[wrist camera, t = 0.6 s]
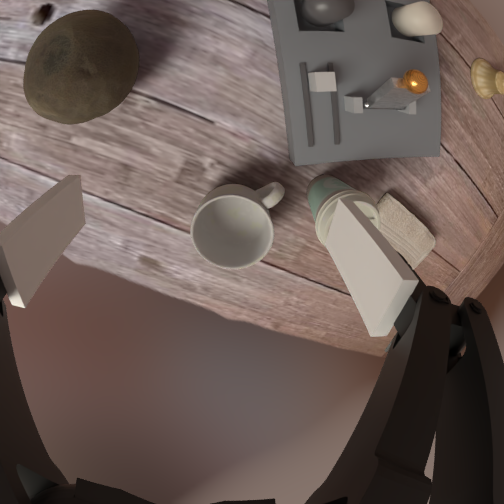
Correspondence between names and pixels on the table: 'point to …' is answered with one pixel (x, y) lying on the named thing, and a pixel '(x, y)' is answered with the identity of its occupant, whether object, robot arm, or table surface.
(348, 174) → the table surface
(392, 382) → the robot arm
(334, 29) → the panel
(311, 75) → the slider knob
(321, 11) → the dark gray button
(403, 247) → the washcloth
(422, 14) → the cream button
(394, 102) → the lever
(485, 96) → the hand bell
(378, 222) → the coffee cup
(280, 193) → the teacup
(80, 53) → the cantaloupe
